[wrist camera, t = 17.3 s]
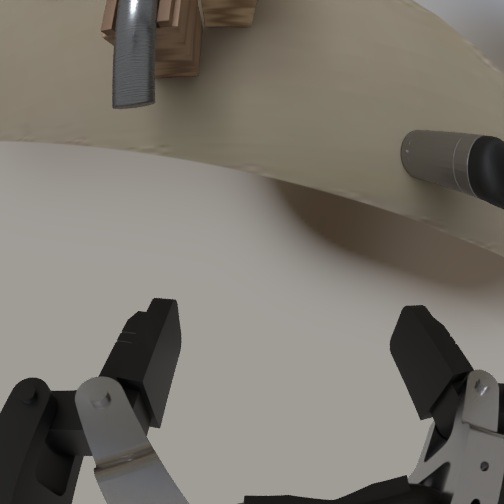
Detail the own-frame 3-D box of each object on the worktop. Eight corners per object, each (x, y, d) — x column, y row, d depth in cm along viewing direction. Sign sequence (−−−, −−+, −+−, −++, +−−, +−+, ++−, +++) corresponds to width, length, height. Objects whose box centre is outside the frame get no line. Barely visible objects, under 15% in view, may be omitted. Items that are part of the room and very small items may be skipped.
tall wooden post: (202, 26, 34) (186, -52, 13) (198, 75, 37) (174, 19, 16) (158, 29, 33) (113, -40, 12) (154, 78, 37) (95, 32, 16)
